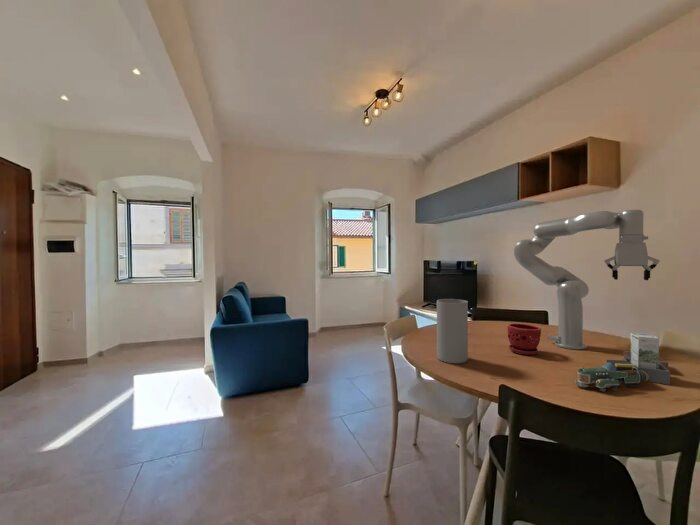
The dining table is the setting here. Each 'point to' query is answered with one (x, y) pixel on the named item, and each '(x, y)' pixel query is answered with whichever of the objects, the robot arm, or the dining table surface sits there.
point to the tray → (656, 373)
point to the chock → (622, 365)
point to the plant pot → (524, 338)
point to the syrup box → (644, 350)
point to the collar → (661, 360)
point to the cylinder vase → (452, 330)
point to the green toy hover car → (609, 377)
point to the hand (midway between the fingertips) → (630, 279)
